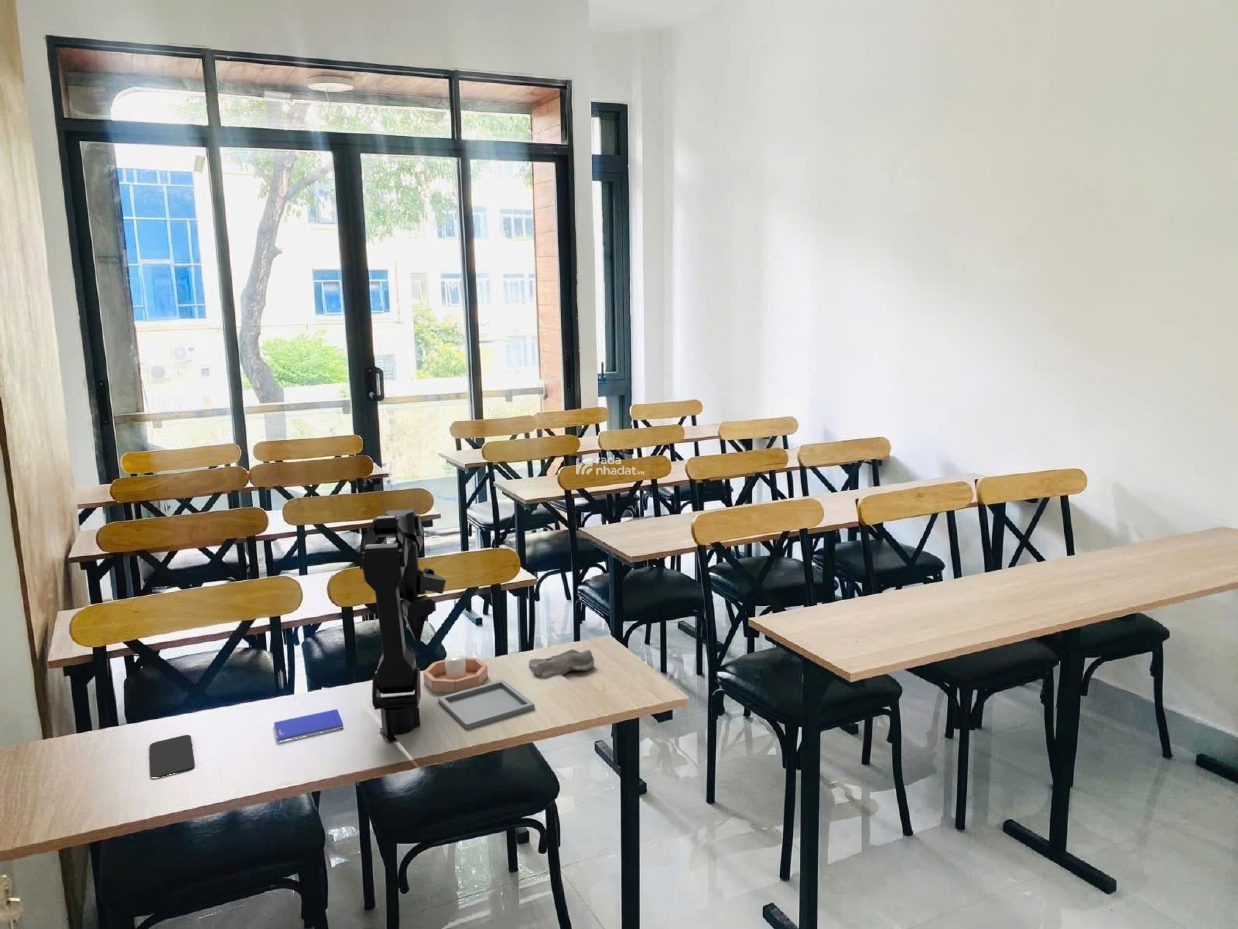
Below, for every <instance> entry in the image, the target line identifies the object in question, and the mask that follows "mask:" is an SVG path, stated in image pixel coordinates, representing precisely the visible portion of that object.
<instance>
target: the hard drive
mask: <svg viewBox="0 0 1238 929" xmlns="http://www.w3.org/2000/svg"><path fill="white" fill-rule="evenodd" d="M273 728H274V732H275V731H276V732H275V736H277V737H276V742H277V743H278V742H280V741H284V740H287V739H295V738H300V737H303V736H309V737H311V736H310V735H313V736H315V735H314V734H317V733H320V732H326V733H328V732H327V731H330V730H333V729H339V730H341V729H340V728H343V729H344V724H343V721H342V717H341V716H340V713H339V710H338V708H335V709H332V710H327V711H322V712H318V713H312V714H307V715H303V716H297V717H293V718H289V719H288V718H287V719H284V720H280V721H275V722H273ZM330 732H331V731H330ZM317 735H318V734H317ZM300 739H301V738H300ZM295 740H296V739H295Z"/></svg>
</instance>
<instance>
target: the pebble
mask: <svg viewBox="0 0 1238 929" xmlns="http://www.w3.org/2000/svg"><path fill="white" fill-rule="evenodd" d="M465 657H466V656H465V655H463V654H456V653H455V654H451V655H448V656H446V657H445V658H444V660H445V667H446V679H450V680H457V679H460V678H464V677H466V664H465Z"/></svg>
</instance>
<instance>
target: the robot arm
mask: <svg viewBox="0 0 1238 929" xmlns="http://www.w3.org/2000/svg"><path fill="white" fill-rule="evenodd" d="M417 512H418V511H417V509H415V508H413V509H411V508H410V509H393V510H386V511H385V513H384V515H378V516H376V517H373V519H372V524H371V525H372V526H371V528H370V529H369V530H367V532H366V533H365V534H364V535H363V536H362V538H361V540H360V546H359V554H358V565H359V569H360V570H362V574H363V579H364V583H366V584H367V585H368V587H370V588H371V589H372V590H373V591H374V593H375V594H374V595H375V603H376V609H377V616H378V617H377V618H378V624H379V632H380V633H379V634H380V641H381V648H382V654H381V656H380V659H379V661H378V666H377V670H375V673H374V677H373V678H372V683H371V684H372V686H371V687H372V688H371V689H372V690H371V694H372V695H371V702H372V707H374V710H375V711H376V710H380V715H381V716H380V719H381V727H380V728H379V732H380V733H381V735H382V736H383V737H384V738H385V739H386V740H387V742H388V743H395V742H397V741H399V740H398V738H397V737H396V736H402V735H405V734H408V733H410V732H412V731H413V730H414V729H417V728H419V727H420V726H421V718H420V717H421V715H420V708H419V704H420V701H421V697H422V694H421V693H422V692H421V691H422V690H421V688H422V687H421V669H420V667H417V662H416V660H417V659H416V656H415V651H414V650H413V649H408V648H407V646H406V639H405V630H404V629H406V628H407V626H408V628H409V630H410V633H411V635H412V637H413V639H414V641H415V642H419V641H421V639H422V635H423V630H424V626H425V623H426V619H427V618H428V617H429V616H430V615H432V614H433V613H435V612H436V611H437V607H436V606H437V604H436V601H435V600H433V599H432V598H431V597H429V596H428V595H426V592H432V593H437V594H438V595H439V594H441V595H442V594H444V591H445V587H446V584H447V579H446V578H444V577H442V576H440V575H438V574H435V571H434V569H433V568H429V567H425V568H424V569H423V570H421V569H420V565H419V554H420V552H421V550H422V547H423V544H424V539H423V536H424V529H423V524H422V518H421V514H420V513H417ZM379 537H380V538H381V537H386V538H387V539H393V538H395V540H394V541H393V542H392V543H390V542H389V543H376V542H377V541H378V539H379ZM403 693H404V694H403ZM405 693H407V694H405ZM393 694H395V695H393ZM396 694H397V695H396ZM398 694H399V695H398ZM382 695H384V696H382Z"/></svg>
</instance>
